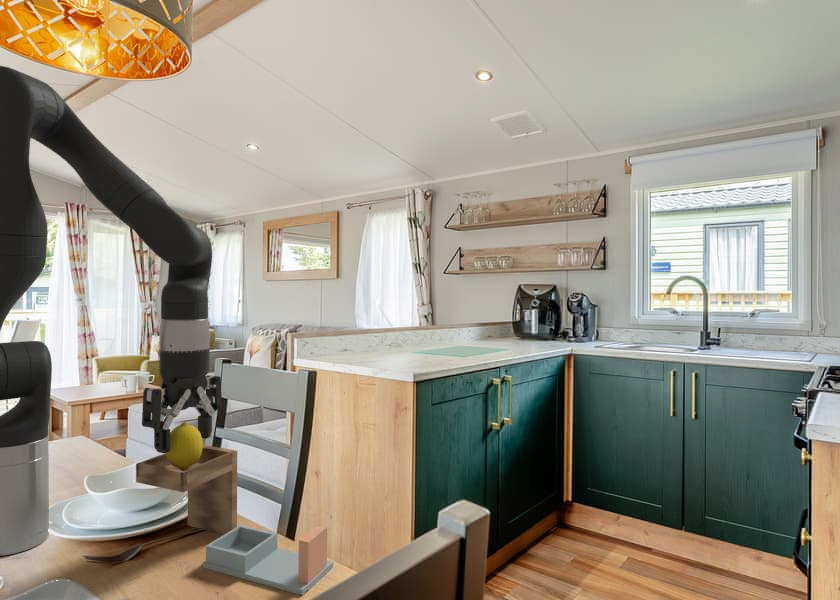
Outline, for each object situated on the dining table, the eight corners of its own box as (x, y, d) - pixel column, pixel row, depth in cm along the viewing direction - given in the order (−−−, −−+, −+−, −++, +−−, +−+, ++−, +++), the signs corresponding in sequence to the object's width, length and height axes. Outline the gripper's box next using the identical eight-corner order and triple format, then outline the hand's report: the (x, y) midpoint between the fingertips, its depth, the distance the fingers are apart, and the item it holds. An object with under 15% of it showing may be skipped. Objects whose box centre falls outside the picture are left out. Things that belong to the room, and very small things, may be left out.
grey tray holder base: (203, 567, 79) (203, 523, 79) (239, 543, 87) (239, 503, 87) (302, 595, 73) (303, 547, 72) (333, 566, 80) (333, 523, 80)
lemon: (177, 479, 82) (177, 429, 81) (158, 472, 85) (158, 423, 84) (209, 469, 86) (209, 421, 86) (190, 462, 89) (190, 416, 89)
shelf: (136, 553, 83) (136, 463, 83) (192, 522, 94) (193, 443, 94) (183, 566, 80) (183, 472, 79) (236, 533, 90) (237, 450, 90)
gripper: (166, 352, 77) (166, 461, 78) (233, 343, 90) (233, 436, 91) (129, 349, 80) (129, 454, 80) (200, 341, 93) (200, 430, 94)
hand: (184, 444), depth 86 cm, fingers open, 8 cm apart
